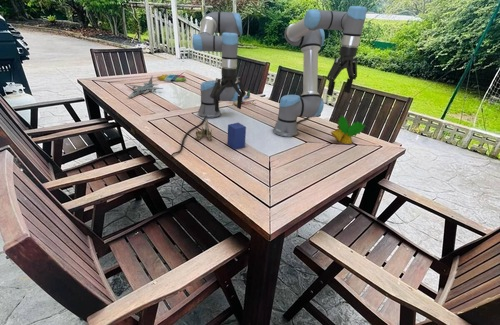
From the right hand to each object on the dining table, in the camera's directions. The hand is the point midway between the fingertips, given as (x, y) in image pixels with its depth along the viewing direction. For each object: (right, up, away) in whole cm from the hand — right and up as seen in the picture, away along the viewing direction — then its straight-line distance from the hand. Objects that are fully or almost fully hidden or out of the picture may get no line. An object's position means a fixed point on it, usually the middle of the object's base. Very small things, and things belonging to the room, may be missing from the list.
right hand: (338, 93), depth 127 cm
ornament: (+16, -20, +34) cm, 42 cm away
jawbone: (-70, -19, +26) cm, 77 cm away
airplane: (-135, +27, +99) cm, 170 cm away
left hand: (-55, -6, +11) cm, 56 cm away
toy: (-50, +18, +94) cm, 108 cm away
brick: (-51, -24, +18) cm, 59 cm away
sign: (-127, +56, +151) cm, 205 cm away
